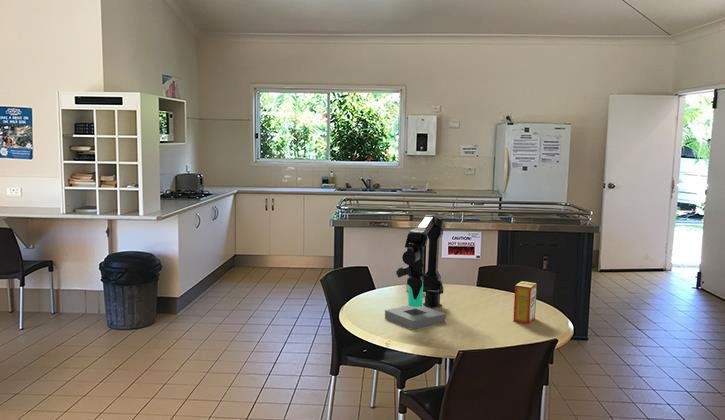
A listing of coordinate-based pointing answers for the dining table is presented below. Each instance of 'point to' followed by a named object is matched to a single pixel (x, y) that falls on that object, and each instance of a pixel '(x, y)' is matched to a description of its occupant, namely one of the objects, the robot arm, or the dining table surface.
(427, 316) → the socket block
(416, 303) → the candle
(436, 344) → the dining table surface
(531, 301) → the baking soda box
